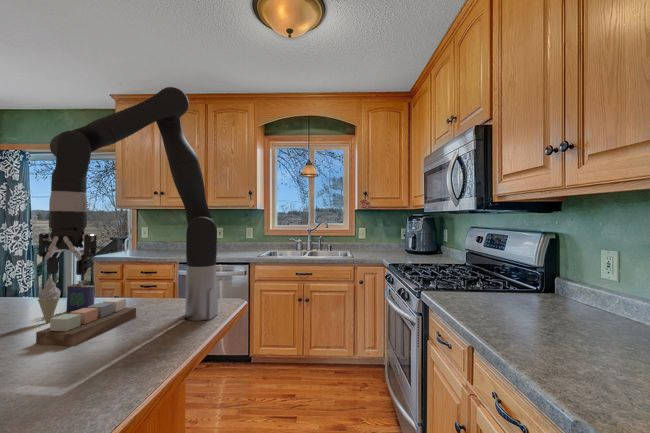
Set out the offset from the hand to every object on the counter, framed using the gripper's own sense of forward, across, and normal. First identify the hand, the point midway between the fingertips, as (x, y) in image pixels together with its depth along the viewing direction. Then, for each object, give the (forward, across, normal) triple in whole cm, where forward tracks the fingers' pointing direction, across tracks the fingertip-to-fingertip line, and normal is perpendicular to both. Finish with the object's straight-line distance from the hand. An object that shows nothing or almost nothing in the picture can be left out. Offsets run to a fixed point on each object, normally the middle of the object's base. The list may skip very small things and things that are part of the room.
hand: (66, 274), depth 79 cm
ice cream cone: (+18, +17, -12) cm, 27 cm away
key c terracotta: (+14, 0, -5) cm, 15 cm away
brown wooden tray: (+18, 0, -8) cm, 20 cm away
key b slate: (+14, 0, -11) cm, 18 cm away
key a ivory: (+14, 0, -16) cm, 21 cm away
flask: (+18, +20, -26) cm, 37 cm away
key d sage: (+14, 0, 0) cm, 14 cm away
